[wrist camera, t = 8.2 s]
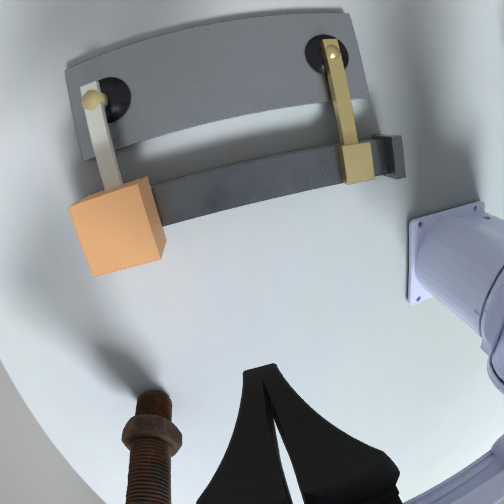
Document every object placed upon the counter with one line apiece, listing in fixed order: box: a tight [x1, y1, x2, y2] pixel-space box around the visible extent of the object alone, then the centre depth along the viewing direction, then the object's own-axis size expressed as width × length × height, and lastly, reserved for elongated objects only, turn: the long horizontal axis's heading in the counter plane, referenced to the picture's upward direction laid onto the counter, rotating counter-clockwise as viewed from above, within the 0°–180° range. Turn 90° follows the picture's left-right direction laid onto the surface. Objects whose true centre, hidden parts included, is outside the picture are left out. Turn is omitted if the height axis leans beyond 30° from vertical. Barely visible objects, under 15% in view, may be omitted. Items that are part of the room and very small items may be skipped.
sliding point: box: [68, 81, 166, 277], centre depth 15 cm, size 4×10×4 cm, turn 12°
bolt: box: [122, 391, 182, 504], centre depth 18 cm, size 6×5×15 cm
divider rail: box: [151, 39, 406, 227], centre depth 17 cm, size 21×10×3 cm, turn 102°
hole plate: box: [65, 13, 369, 161], centre depth 17 cm, size 19×6×1 cm, turn 102°
